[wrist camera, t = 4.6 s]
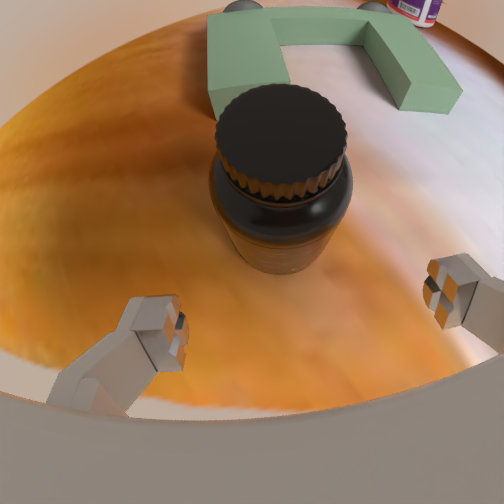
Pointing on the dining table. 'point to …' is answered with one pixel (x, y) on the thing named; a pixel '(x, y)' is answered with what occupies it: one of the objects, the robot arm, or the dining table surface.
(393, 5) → the pill bottle
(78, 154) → the dining table surface
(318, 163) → the supplement bottle
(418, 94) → the green u-shaped block
